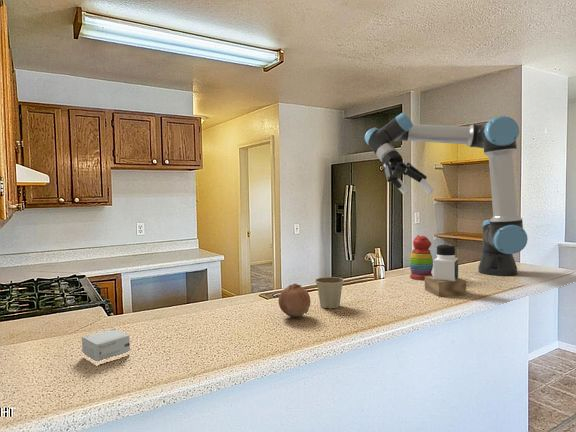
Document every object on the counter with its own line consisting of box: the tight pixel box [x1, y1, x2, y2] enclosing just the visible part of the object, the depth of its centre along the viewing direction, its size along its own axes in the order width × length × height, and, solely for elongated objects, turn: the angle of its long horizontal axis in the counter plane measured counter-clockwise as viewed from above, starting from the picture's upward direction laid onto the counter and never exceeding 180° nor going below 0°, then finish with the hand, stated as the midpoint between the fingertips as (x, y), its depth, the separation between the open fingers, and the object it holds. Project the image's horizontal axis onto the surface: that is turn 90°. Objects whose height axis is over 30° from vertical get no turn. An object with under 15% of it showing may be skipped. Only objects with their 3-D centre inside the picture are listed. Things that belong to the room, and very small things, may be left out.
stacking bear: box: [408, 234, 434, 281], centre depth 170 cm, size 11×10×18 cm
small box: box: [81, 328, 131, 361], centre depth 93 cm, size 8×8×5 cm
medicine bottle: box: [433, 244, 459, 281], centre depth 144 cm, size 7×7×12 cm
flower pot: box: [314, 276, 345, 310], centre depth 130 cm, size 9×9×9 cm
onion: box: [278, 283, 311, 318], centre depth 119 cm, size 10×9×10 cm
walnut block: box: [424, 276, 467, 298], centre depth 145 cm, size 10×10×5 cm
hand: (418, 192), depth 155 cm, fingers open, 13 cm apart
